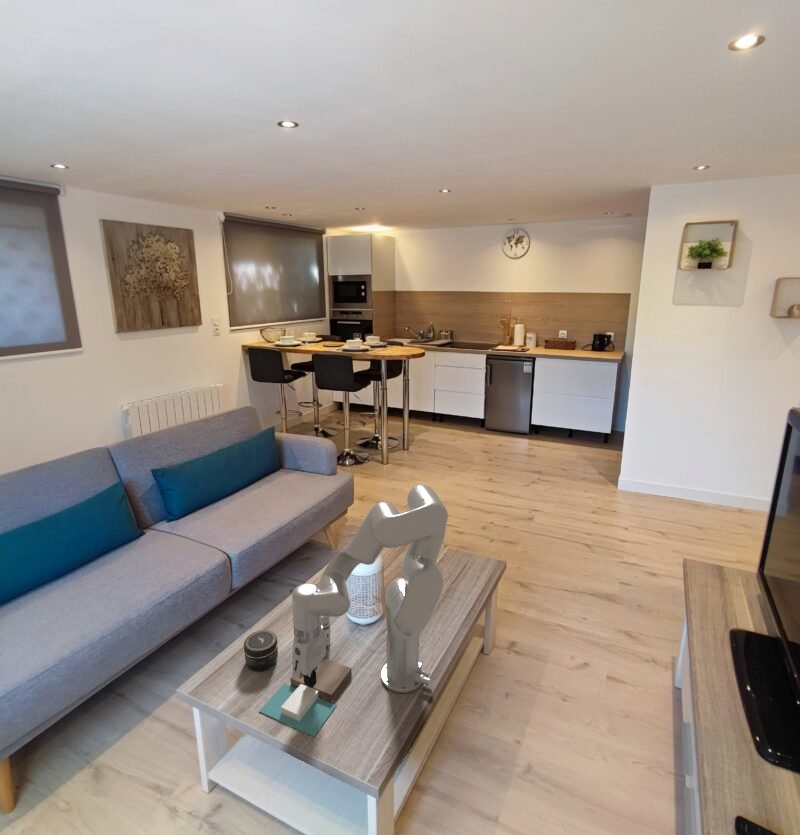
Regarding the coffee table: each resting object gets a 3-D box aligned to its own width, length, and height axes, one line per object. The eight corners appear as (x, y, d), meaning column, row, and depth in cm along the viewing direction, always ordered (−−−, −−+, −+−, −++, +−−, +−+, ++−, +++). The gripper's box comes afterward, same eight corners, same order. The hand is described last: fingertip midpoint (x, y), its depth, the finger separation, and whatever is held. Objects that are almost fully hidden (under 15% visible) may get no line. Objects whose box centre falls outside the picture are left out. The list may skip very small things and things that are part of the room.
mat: (336, 706, 136) (336, 705, 136) (314, 736, 127) (313, 736, 127) (284, 684, 143) (284, 683, 143) (259, 711, 134) (259, 710, 134)
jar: (261, 645, 159) (260, 625, 157) (285, 656, 154) (284, 635, 152) (238, 665, 150) (236, 644, 148) (262, 677, 146) (261, 656, 144)
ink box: (306, 655, 155) (305, 622, 152) (300, 645, 159) (298, 614, 156) (331, 644, 160) (330, 613, 157) (324, 636, 164) (323, 605, 161)
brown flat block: (351, 675, 147) (351, 668, 146) (331, 702, 137) (331, 694, 137) (312, 660, 153) (312, 653, 152) (290, 685, 143) (290, 678, 142)
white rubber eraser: (318, 696, 139) (318, 691, 138) (299, 721, 131) (298, 715, 130) (301, 689, 141) (300, 683, 141) (281, 713, 133) (280, 707, 133)
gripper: (302, 649, 127) (305, 708, 131) (334, 616, 140) (335, 670, 144) (279, 641, 130) (282, 698, 134) (312, 609, 143) (314, 662, 147)
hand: (310, 683), depth 139 cm, fingers closed
